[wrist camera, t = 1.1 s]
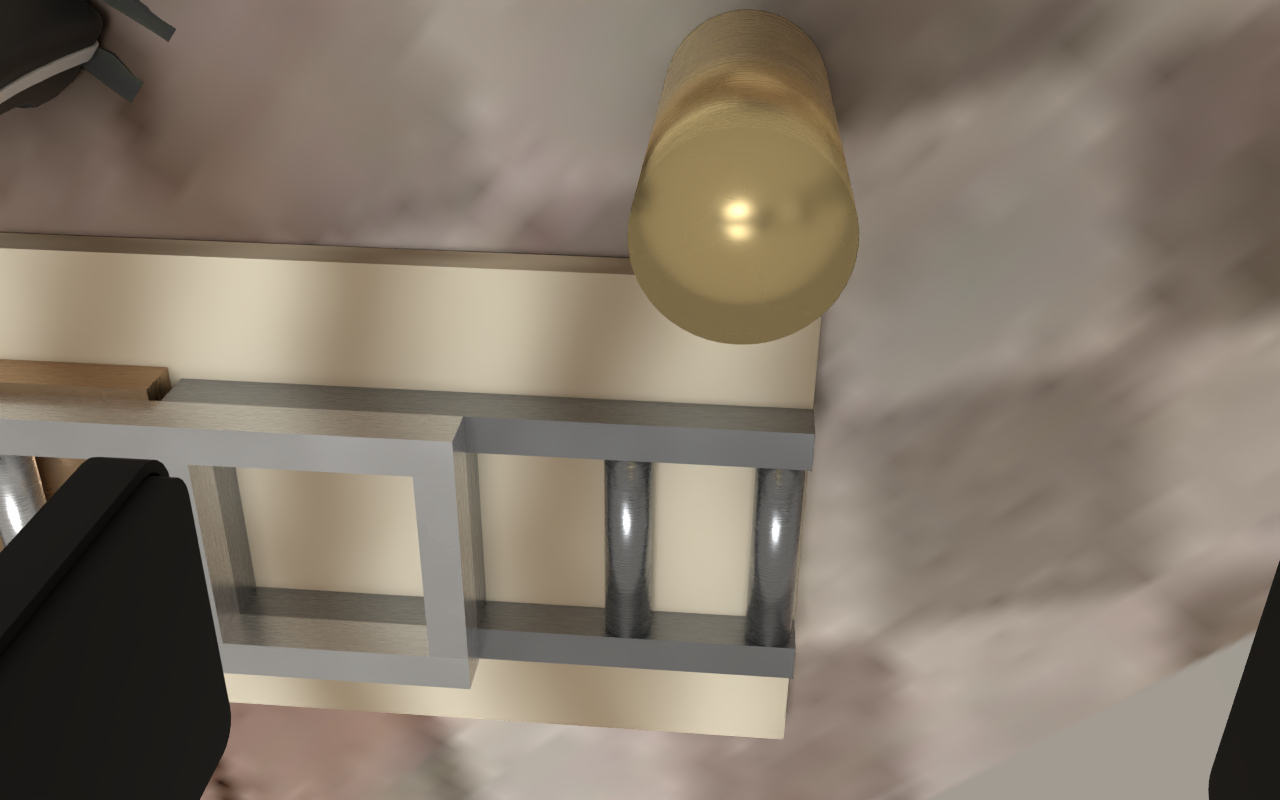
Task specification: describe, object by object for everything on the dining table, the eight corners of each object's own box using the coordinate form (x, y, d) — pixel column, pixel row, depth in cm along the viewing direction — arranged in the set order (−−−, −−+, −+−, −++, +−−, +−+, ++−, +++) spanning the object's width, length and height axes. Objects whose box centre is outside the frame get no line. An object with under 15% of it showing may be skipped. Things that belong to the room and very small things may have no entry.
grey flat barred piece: (472, 381, 30) (451, 430, 28) (488, 638, 34) (470, 698, 31) (-139, 352, 31) (-205, 397, 29) (-56, 603, 35) (-108, 659, 32)
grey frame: (812, 409, 29) (814, 433, 28) (791, 648, 33) (792, 678, 32) (181, 378, 30) (160, 401, 29) (226, 613, 34) (209, 640, 33)
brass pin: (834, 11, 26) (870, 131, 18) (820, 175, 28) (847, 350, 20) (666, 7, 26) (627, 123, 18) (663, 169, 28) (626, 339, 20)
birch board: (822, 266, 29) (824, 283, 28) (782, 714, 35) (783, 739, 34) (-149, 226, 30) (-176, 240, 29) (-11, 662, 37) (-29, 684, 36)
